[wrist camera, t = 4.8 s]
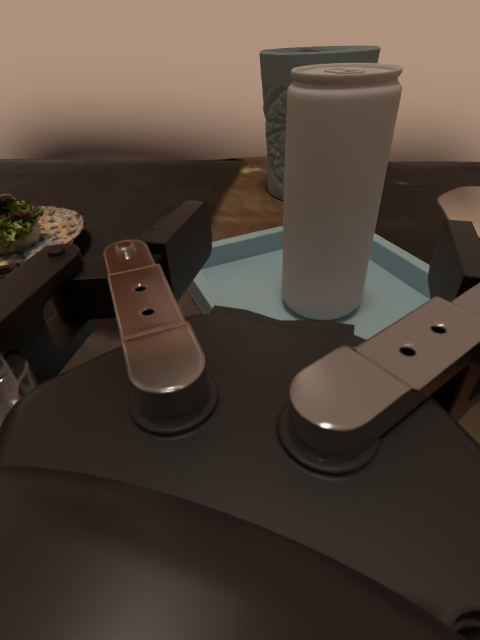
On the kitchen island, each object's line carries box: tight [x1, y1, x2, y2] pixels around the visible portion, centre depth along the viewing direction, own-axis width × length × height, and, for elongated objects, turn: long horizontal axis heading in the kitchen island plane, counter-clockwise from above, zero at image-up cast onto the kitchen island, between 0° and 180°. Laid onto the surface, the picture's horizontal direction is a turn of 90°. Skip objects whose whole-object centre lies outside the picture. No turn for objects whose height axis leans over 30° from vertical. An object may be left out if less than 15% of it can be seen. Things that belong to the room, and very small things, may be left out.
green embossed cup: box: [260, 46, 380, 201], centre depth 36 cm, size 10×10×12 cm
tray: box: [187, 226, 431, 340], centre depth 23 cm, size 16×14×2 cm
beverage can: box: [282, 63, 402, 321], centre depth 20 cm, size 5×5×12 cm
